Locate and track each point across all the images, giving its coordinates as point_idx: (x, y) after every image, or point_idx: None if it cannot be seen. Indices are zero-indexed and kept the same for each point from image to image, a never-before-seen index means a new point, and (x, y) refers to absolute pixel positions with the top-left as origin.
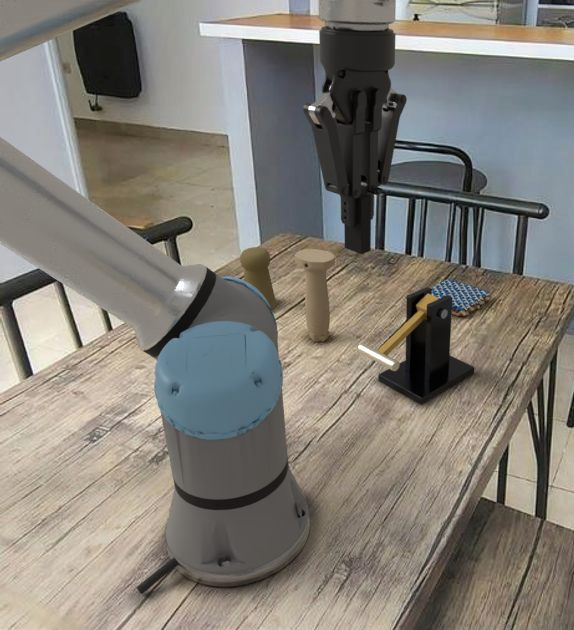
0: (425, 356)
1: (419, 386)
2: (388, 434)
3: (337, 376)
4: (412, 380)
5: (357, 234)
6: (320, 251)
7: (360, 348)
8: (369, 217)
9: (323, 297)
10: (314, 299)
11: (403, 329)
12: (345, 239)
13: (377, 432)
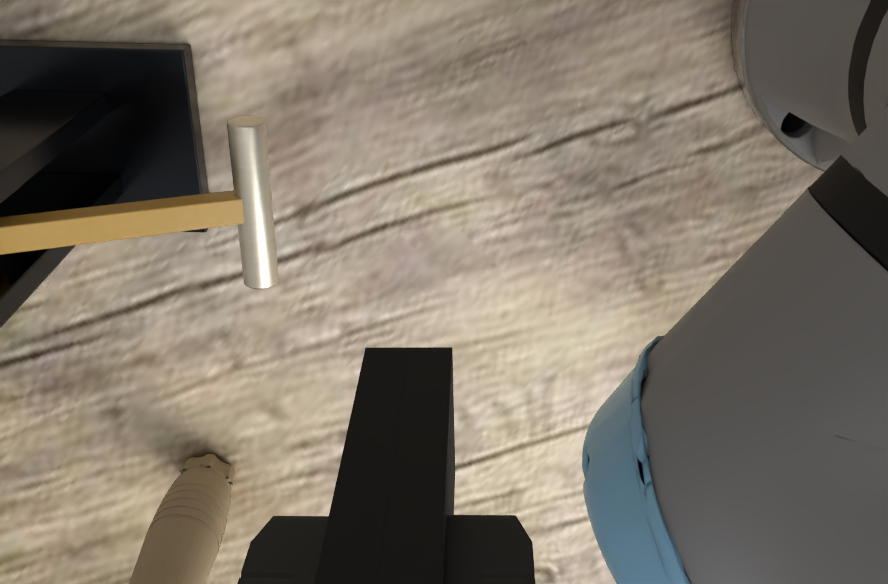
0: (74, 141)
1: (146, 99)
2: (365, 14)
3: (288, 314)
4: (143, 138)
5: (448, 459)
6: None
7: (273, 274)
8: (345, 514)
9: (166, 552)
10: (193, 561)
11: (110, 226)
12: (453, 504)
13: (382, 45)
